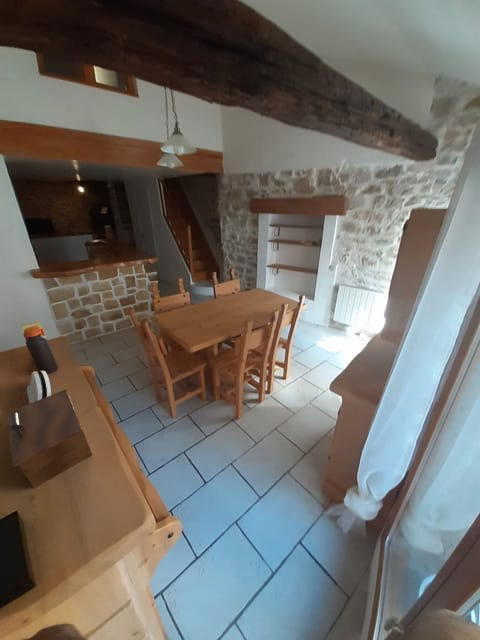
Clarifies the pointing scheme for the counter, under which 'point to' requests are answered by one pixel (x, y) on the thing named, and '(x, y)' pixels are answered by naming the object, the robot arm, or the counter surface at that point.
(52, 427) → the lid
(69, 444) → the chest
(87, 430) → the counter surface
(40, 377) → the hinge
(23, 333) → the baking soda box
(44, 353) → the bottle
